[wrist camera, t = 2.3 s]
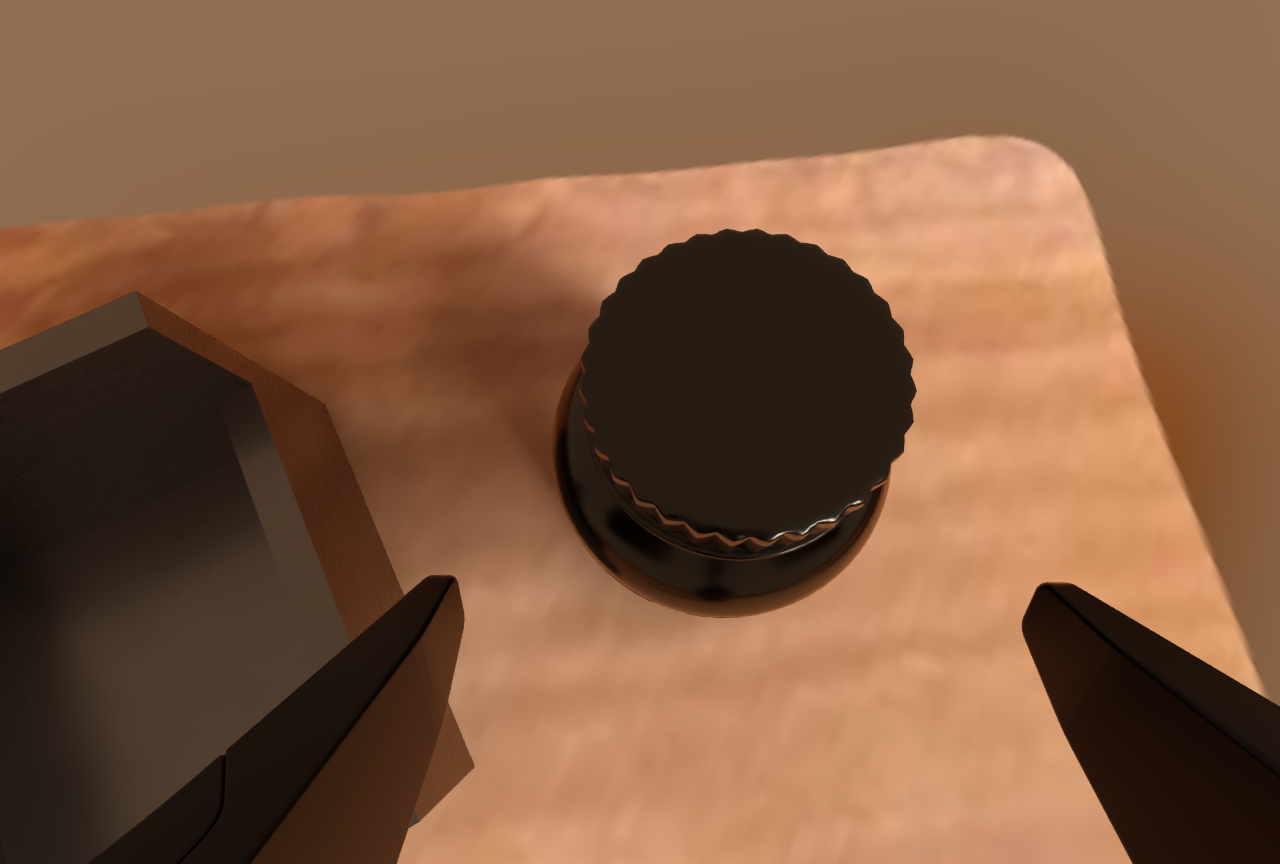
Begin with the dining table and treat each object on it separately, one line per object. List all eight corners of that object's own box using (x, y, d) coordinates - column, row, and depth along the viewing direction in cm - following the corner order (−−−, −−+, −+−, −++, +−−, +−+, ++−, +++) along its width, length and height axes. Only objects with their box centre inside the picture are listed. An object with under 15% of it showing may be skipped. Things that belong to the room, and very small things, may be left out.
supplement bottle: (762, 388, 21) (906, 128, 9) (821, 583, 19) (1091, 561, 7) (571, 431, 21) (475, 216, 9) (613, 633, 19) (560, 691, 7)
